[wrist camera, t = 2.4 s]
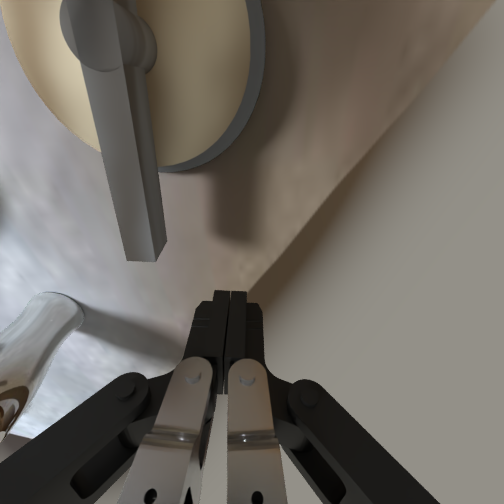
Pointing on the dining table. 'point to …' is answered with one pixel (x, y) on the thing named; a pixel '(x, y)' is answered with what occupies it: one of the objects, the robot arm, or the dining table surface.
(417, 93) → the dining table surface
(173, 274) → the dining table surface
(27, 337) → the beer glass
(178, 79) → the capstan dial
